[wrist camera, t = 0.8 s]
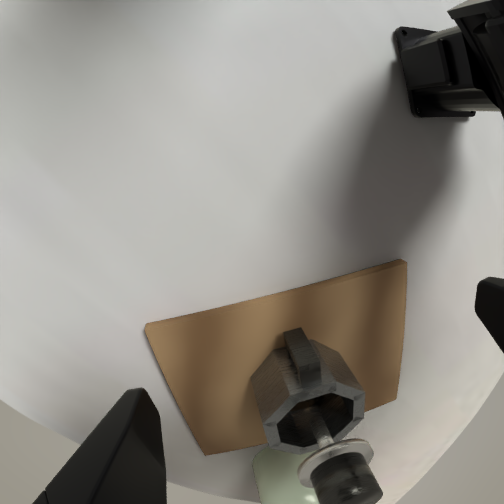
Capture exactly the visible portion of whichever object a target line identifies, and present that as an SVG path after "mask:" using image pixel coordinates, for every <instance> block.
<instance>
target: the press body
mask: <svg viewBox="0 0 504 504" xmlns="http://www.w3.org/2000/svg"><path fill="white" fill-rule="evenodd" d="M283 336H284V341H285V347H281V348H277V349H273V350H272V351H271V353H270V354H269V355H268V356H267V357H266V359H265V360H264V361H263V362H262V364H261V365H260V366H259V367H258V368H257V370H256V371H255V372H254V373H253V374H252V376H251V377H250V378H251V382H252V386H253V390H254V394H255V398H256V402H257V406H258V409H259V413H260V417H261V421H262V424H263V428H264V431H265V435H266V438H267V442H268V445H269V448H271V449H275V450H280V451H284V452H289V453H294V454H299V455H302V454H305V453H308V452H312V451H315V450H318V449H320V447H319V445H318V443H317V440H316V438H315V435H314V433H313V431H312V428H311V426H310V423H309V421H310V420H311V419H312V418H313V417H315V416H321V417H322V418H323V420H324V422H325V424H326V426H327V428H328V430H329V433H330V435H331V437H332V439H333V441H334V443H335V442H338V441H340V440H341V439H342V438H344V437H345V436H346V435H347V434H348V433H349V432H350V431H351V430H352V429H353V428H354V427H355V426H356V425H357V424H358V423H359V422H360V421H361V420H362V419H363V418H364V407H365V391H364V390H363V388H362V386H361V385H360V383H359V382H358V380H357V379H356V377H355V376H354V374H353V373H352V371H351V370H350V368H349V367H348V365H347V364H346V362H345V361H344V359H343V358H342V356H341V355H340V353H339V352H338V351H336V350H334V349H331V348H329V347H327V346H325V345H323V344H321V343H319V342H317V341H315V340H313V339H309V340H308V338H307V337H306V335H305V333H304V331H303V330H302V328H301V327H300V328H296V329H293V330H289V331H285V332H283Z"/></svg>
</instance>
